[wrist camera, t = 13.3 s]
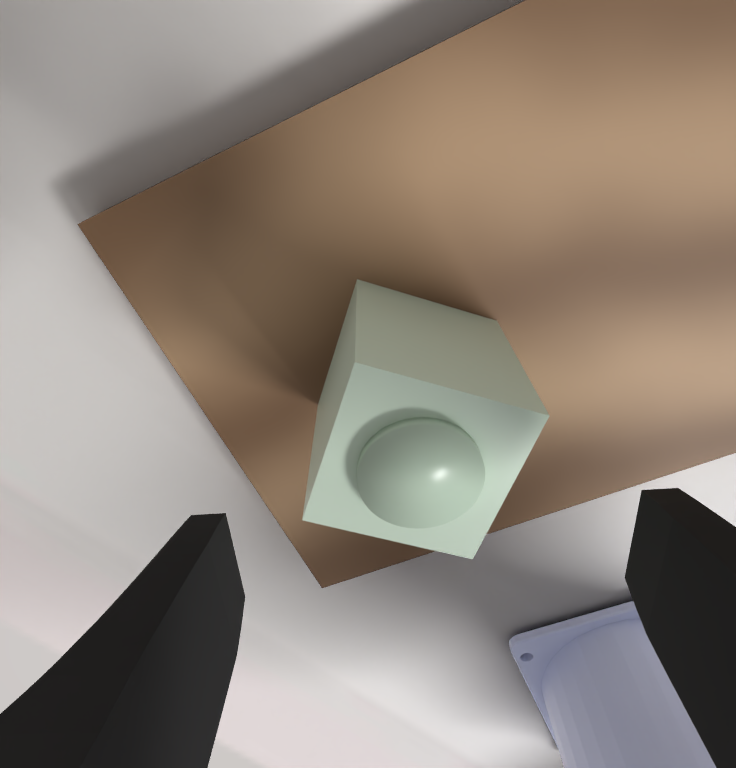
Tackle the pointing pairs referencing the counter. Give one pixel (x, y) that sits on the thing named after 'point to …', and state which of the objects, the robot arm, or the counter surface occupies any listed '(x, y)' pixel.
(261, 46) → the counter surface
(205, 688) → the robot arm
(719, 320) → the board
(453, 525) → the sage cube with dome
